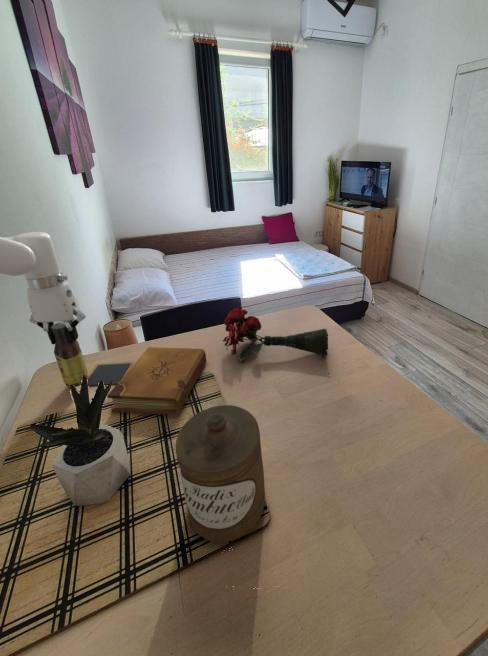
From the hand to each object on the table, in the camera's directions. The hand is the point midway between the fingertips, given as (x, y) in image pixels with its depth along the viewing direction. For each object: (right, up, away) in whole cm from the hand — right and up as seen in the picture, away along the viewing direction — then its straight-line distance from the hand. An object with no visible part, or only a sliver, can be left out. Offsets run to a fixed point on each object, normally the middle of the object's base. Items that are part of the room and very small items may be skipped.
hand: (65, 340), depth 91 cm
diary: (+26, -14, +6) cm, 30 cm away
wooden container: (+51, -28, -27) cm, 64 cm away
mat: (+6, -12, +11) cm, 17 cm away
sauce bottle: (0, -14, +6) cm, 15 cm away
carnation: (+58, -7, +22) cm, 63 cm away
